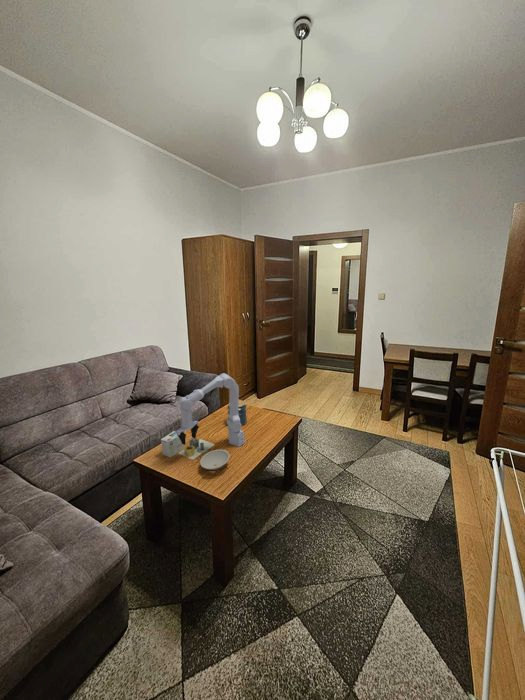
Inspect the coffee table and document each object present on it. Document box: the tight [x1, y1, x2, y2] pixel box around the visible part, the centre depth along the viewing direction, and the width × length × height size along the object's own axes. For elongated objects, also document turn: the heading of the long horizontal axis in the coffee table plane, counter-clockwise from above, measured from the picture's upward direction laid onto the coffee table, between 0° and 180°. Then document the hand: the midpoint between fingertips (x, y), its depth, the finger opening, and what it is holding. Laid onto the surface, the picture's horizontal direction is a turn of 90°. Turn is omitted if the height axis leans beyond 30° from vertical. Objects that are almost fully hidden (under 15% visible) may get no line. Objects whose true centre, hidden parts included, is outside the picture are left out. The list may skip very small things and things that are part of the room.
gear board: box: [177, 438, 215, 460], centre depth 169 cm, size 13×18×5 cm
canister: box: [227, 399, 248, 426], centre depth 201 cm, size 13×13×18 cm
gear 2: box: [183, 444, 195, 458], centre depth 164 cm, size 6×6×4 cm
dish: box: [199, 449, 230, 471], centre depth 154 cm, size 18×14×5 cm
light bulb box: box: [160, 430, 184, 458], centre depth 167 cm, size 11×7×11 cm, turn 152°
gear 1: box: [188, 438, 200, 449], centre depth 172 cm, size 6×6×4 cm
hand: (188, 440), depth 163 cm, fingers open, 7 cm apart
